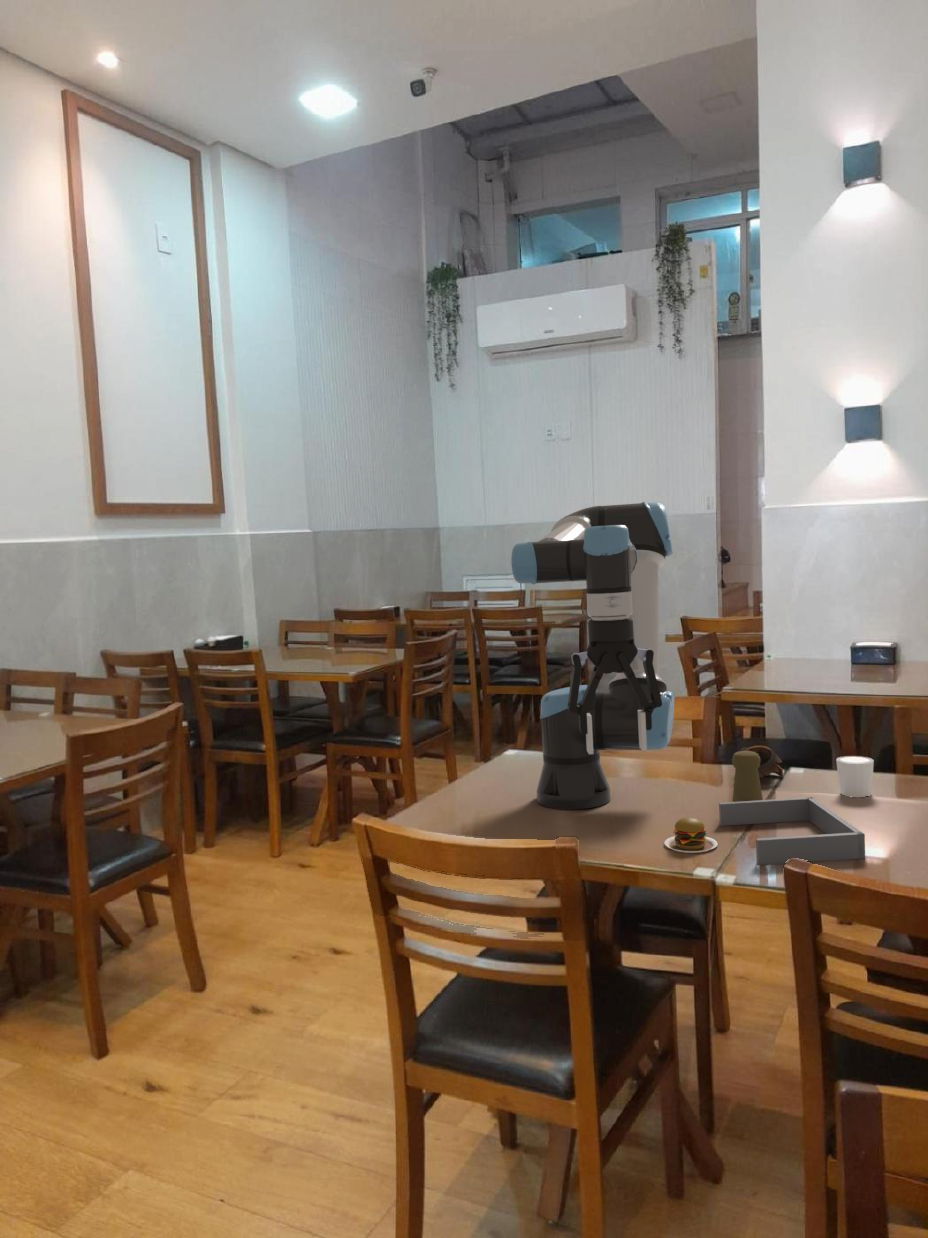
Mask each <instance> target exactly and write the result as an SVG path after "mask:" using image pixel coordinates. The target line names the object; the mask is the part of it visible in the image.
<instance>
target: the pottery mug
mask: <svg viewBox="0 0 928 1238" xmlns="http://www.w3.org/2000/svg"><path fill="white" fill-rule="evenodd" d="M739 751H752V752H756V753H757V754H758V755H759V757H760V766H759V768H758V774H759V779H761V778H765V776H769V775H771V774H775V775H778V776H779V777H780V778H784V769H783V768H782V767H781V766H780V765H779V764H781V763H783V761H782V759H781V758H780V757H779V755H778V754H776V753H775V751H774V750H773V749H772V748H770V747H769V746H766V745H754V746H750V747H742V748H741V749H739Z"/></svg>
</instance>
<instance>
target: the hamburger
mask: <svg viewBox="0 0 928 1238" xmlns="http://www.w3.org/2000/svg"><path fill="white" fill-rule="evenodd" d="M707 832H708V831H707V830H706V829H705V824H704V823H703V821H701V820H700V819H697V818H695V817H692V816H687V817H683V818H680V819H678V820H677V821H676V822H675V825H674V829H673V832H672V834H674V836H670V837H668V838H667V839H665V840H664V842H663V844H664V846H665V847H666V848H668V849H671V850H672V851H675V852H680V853H685V854H699V853H705V852H709V851H711V850H714V849H715V848H716V847H718V845H719V844H718V841H716V840H715V839H714V838H712V837H708V835H707ZM673 842H674V843H675V844H676V845H675V846H677V847H678V848H679V849H675V848H673V847H671V846H670V844H671V843H673ZM707 842H708V843H710V844H711V846H712V847H711V848H709V849H704V850H701V849H702V848H704V846H705V844H706V843H707ZM680 849H682V850H680Z"/></svg>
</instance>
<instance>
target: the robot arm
mask: <svg viewBox="0 0 928 1238" xmlns="http://www.w3.org/2000/svg"><path fill="white" fill-rule="evenodd" d="M667 517H668V516H667V511H666V507H665V505H664V504H662V503H661V502H645V501H641V502H639V503H626V504H611V505H609V504H608V505H595V506H589V507H586V508H585V507H584V508H582V509H580V510H576V511H574V512H572V513H569V514H567V515H565V516H563V517H562V518H560V519H559V520H558V521H557V522H556V523H555V524H554V525H553V526H552V529H551V531H550V532H549V533H547V535H545V536H544V537H542V538H541V539H539V540H538V541H526V542H520V543H519V542H518V543H516V544H514V546H513V548H512V551H511V559H510V560H511V564H510V565H511V571H512V575H513V578H514V580H515V582H517V583H518V584H530V585H531V584H532V585H536V584H547V583H564V582H586V584H585V585H586V589H585V590H586V608H587V611H586V612H587V613H586V614H587V616H588V617H589V618H590V619H589V620H588V622H587V630H588V645H587V649H586V651H582V652H579V653H578V652H572V653H571V655H570V658H571V663H572V671H571V677H570V684H569V685H570V686H568V687H563V688H557V689H554V690H551V691H549V692H547V693H545V694H544V695H543V696H542V698H541V699H540V715H539V719H540V723H541V724H540V725H541V742H542V755H543V760H542V761H543V766H542V769H541V773H540V776H539V779H538V783H537V787H536V801H537V803H538V804H539V805H541V806H543V807H545V808H546V807H547V808H549V809H550V808H551V809H556V810H557V809H558V810H583V809H585V810H586V809H592V808H597V807H601V806H603V805H606V804H607V803H609V802H610V801H611V797H612V796H611V787H610V784H609V781H608V780H607V776H606V773H605V771H604V768H603V766H602V765H603V764H602V763H601V753H600V751H642V752H647V751H658V750H659V751H661V750H663V749H666V748H667V746H668V745H669V743H670V740H671V737H672V731H673V726H674V716H675V694H674V692H672V691H670V690H667V689H668V688H667V682H666V681H664V679H662V678H661V676H660V652H659V651H660V646H659V645H660V644H659V643H660V637H659V636H660V633H659V631H660V630H659V629H660V626H659V625H660V624H659V623H660V622H659V619H660V618H659V615H660V614H659V610H660V609H659V570H661V569H662V568H663V567H664V566H665V565H666V562H667V561H666V557H669V556H671V555H673V545H672V541H671V534H670V528H669V522H668V518H667ZM587 659H589V660H590V662H591V663H592V664H593V665H594V667H593V670H592V672H591V675H590V678H589V680H588V684H582V685H581V678H582V671H583V668H582V666H584V665H586V660H587ZM612 673H616V676H615V677H614V678H612V679H611V680H610V681H609V682H608V692H598V691H599V690H598V688H599V687H598V686H599V684H600V681H601V680H602V678H603V676H604V675H608V674H612Z"/></svg>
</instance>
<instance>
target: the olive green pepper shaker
mask: <svg viewBox="0 0 928 1238" xmlns="http://www.w3.org/2000/svg"><path fill="white" fill-rule="evenodd" d="M731 763H732V766H733V768H734V769H735V770H734V771H735V772H734V778H733V779H734V782H733V791H732V800H731V802H740V801H757V800H764V798H763V792H762V787H761V780H760V778H759V774H758V768H759V766H760V757H759V754H757V753H756V752H752V751H740V750H739V751H736V752H734V754H733V755H732V758H731Z"/></svg>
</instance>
